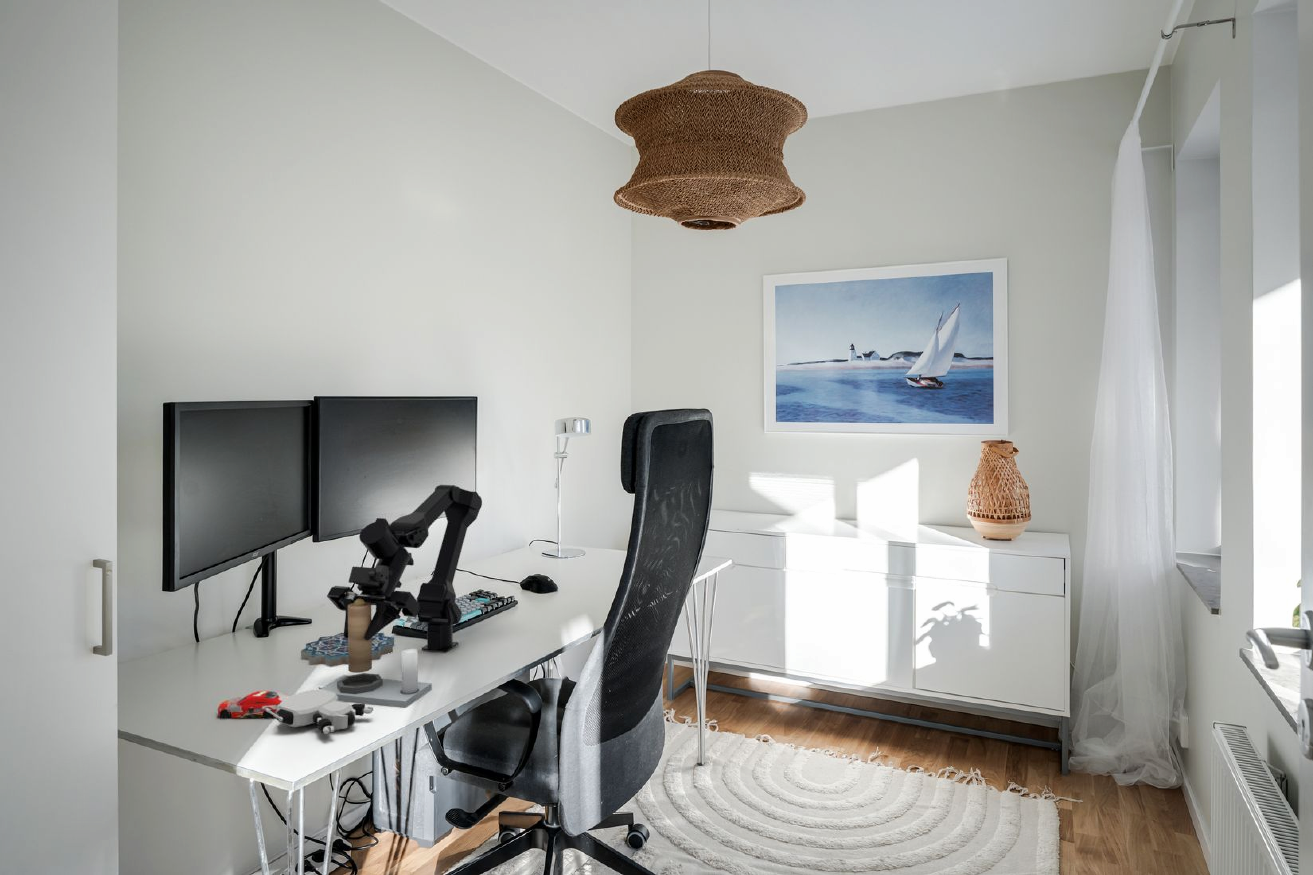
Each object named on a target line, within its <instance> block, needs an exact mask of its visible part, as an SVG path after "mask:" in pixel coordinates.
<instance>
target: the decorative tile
mask: <svg viewBox="0 0 1313 875" xmlns="http://www.w3.org/2000/svg"><path fill="white" fill-rule="evenodd" d="M394 646H395V637H393V636H385V632H378V633H377V634H375V635H374V636H373V637H372V661H379V660H380V659H381V658H382V656H384V655H385V656H386V655H388V653H389V654H392V653H391V652H393V653H394ZM300 660H304V661H308V663H309V666H310V665H311V666H312V665H315V666H316V665H325V666H328V667H329V668H332V667H337V666H342V665H348V638H345V637H344V632H340V633H337V634H335V635H331V636H320V637H319V638H318V639H317V640H316V641H315V640H314V641H311V642H307V643H305V648H303V649H301V650H300Z"/></svg>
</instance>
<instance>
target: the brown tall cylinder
mask: <svg viewBox="0 0 1313 875" xmlns="http://www.w3.org/2000/svg"><path fill="white" fill-rule="evenodd" d="M371 620H372V605H371V603H369V602H364V600H363V599H357V600H356V601H355V602H354V603H351V604H349V605H348V664H347V665H348V666H347V667H348V672H349V673H355V674H356V673H357V674H361V673H365V672H366V673H367V672H369V671H370V670H372V669H373V666H372V665H373V660H372V638H371V639H369V640H368V641H367V640H365V639H364V637H365V634H366V631H367V629H368V627H369V625H370V623H371Z"/></svg>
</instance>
